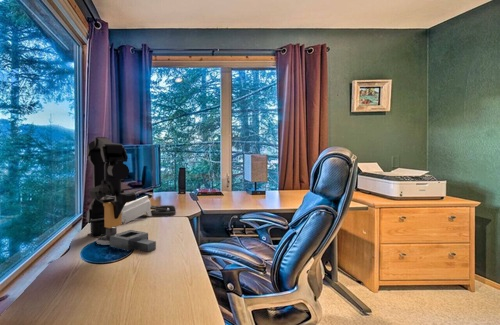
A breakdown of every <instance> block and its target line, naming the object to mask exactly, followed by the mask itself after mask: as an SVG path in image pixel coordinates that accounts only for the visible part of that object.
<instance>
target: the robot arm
mask: <svg viewBox="0 0 500 325" xmlns="http://www.w3.org/2000/svg"><path fill="white" fill-rule="evenodd" d="M86 157H88V158H87V160H88V161H89V163H90V165H91V166H92V188H90V189H89V190H88V194H89V196H90V199H91V202H90V203H89V205H88V206H89V208H88V210H87V213H86V222H87V223H88V224H90V233H87V236H90V237H94V238H100V237H103V236H106V227H105V224H104V206H103V203H108V202H110V203H111V204H112V205H113V208H114V217H115V219H117V218H118V217H119V215H120V213H121V211H122V209H123V207H124V205H125V204H126V203H129V202H131V201H135V200H137V194H136V193H135V192H130V191H126V192H125V190H124V189H122V183H124V182H125V179H126V178H128V176H129V174H130V169H129V166H128V165H127V164H125V163H127V162H128V159H129V157H128V153H127V150H126V149H125V146H123V144H122V143H114V142H113V141H111V140H110V139H109V137H106V136H105V137H104V136H96V137H94V139H93V141H91V142H89V143H88V144H87V148H86Z"/></svg>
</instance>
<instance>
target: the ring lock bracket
mask: <svg viewBox="0 0 500 325" xmlns="http://www.w3.org/2000/svg"><path fill="white" fill-rule="evenodd" d="M117 228H118V226H116V227H113V228H107V227H106V235H103V236H100V237H97V239H96V240H95V241H96V243H97V244H101V245H110V246H111V247H116V248H120V249H125V250H131V249H134V250H136V251H140V252H144V253H149V252H152V251H154V250H156V249H157V248H156V247H157V241H156V240H150V239H149V232H146V231H145V232H144V231H138V230H135V229H129V230H124V231H122V232H118V233H117V231H118V230H117ZM97 244H96V245H97ZM110 246H109V247H110ZM131 251H132V250H131Z"/></svg>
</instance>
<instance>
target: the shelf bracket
mask: <svg viewBox="0 0 500 325" xmlns="http://www.w3.org/2000/svg"><path fill="white" fill-rule="evenodd" d="M151 205H152V201H151V200H150V199H149V195H145V196H143V197H140V198H136V200H135V201H129V202H126V204H125V205H124V207H123V209H122V211H121V219H122V224H127V223H129V222H131V221H133V220H136V219H138V218H140V217H141V216H143V215H144V214H145V215H146V216H148V217H153V216H152V214H151V211H152V209H150V207H151Z"/></svg>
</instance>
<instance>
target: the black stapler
mask: <svg viewBox="0 0 500 325" xmlns="http://www.w3.org/2000/svg"><path fill="white" fill-rule="evenodd" d="M150 209H151V214H152V216H151V217H172V216H175V215H176V214H177V212H176V206H174V205H171V204H166V205H165V204H163V205H159V206H158V205H152V204H151V207H150Z"/></svg>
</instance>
